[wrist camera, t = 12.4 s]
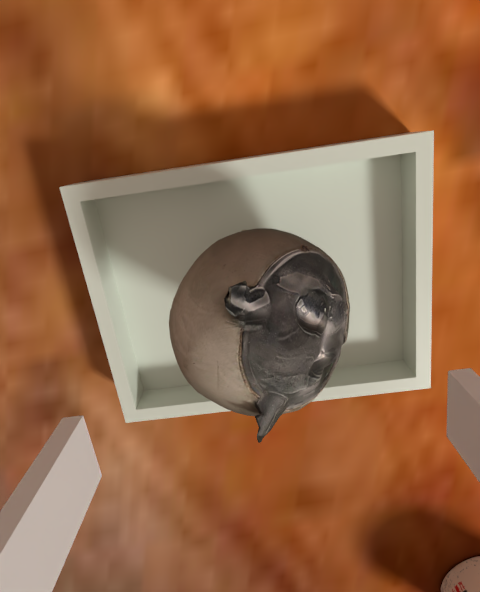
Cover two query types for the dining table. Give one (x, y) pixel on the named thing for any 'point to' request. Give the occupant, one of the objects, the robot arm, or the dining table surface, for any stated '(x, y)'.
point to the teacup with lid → (463, 577)
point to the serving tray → (276, 215)
